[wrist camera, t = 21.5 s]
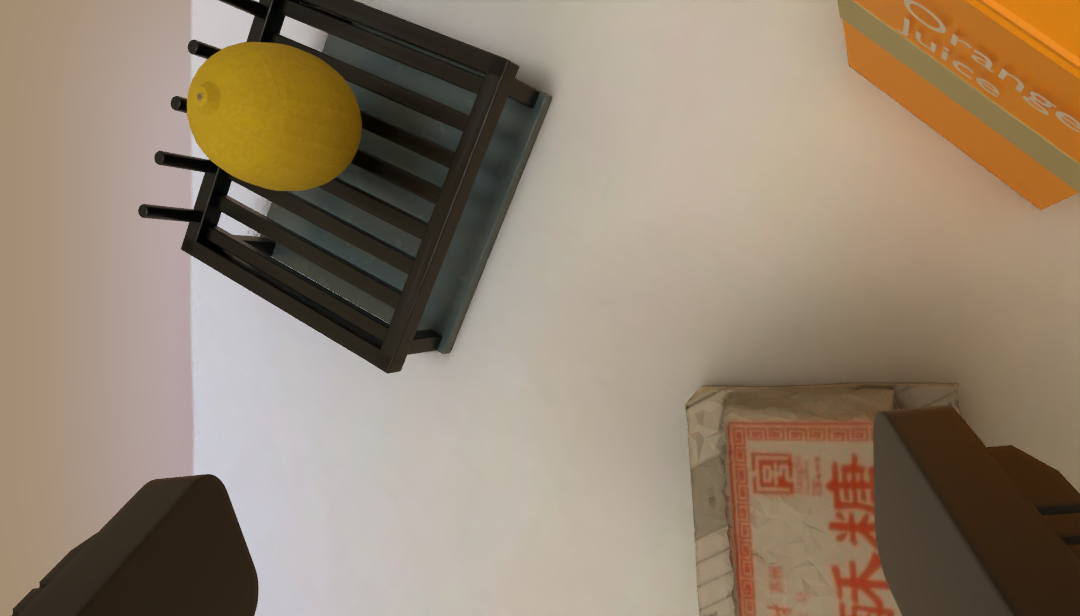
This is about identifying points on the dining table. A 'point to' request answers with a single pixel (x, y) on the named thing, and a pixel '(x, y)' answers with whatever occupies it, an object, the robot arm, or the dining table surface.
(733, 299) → the dining table surface
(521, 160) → the dish rack
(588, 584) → the dining table surface
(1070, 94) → the orange juice
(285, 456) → the dining table surface
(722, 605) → the packaged product
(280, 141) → the lemon
